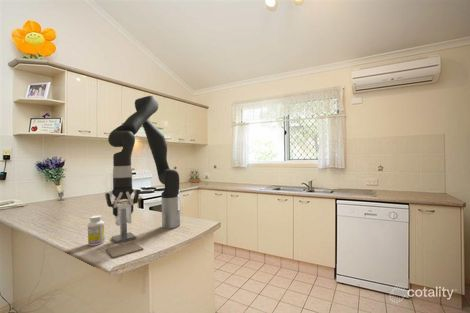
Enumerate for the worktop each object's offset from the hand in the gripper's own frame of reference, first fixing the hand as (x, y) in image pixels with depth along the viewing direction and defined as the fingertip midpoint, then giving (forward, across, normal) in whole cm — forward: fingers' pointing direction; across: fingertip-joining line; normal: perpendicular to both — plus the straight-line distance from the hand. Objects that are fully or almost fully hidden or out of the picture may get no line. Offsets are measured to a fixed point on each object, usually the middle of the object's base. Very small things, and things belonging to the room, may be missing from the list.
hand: (123, 214), depth 100 cm
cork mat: (+15, 0, 0) cm, 15 cm away
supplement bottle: (+16, +7, -18) cm, 25 cm away
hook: (+4, 0, 0) cm, 4 cm away
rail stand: (+15, -4, -12) cm, 20 cm away
